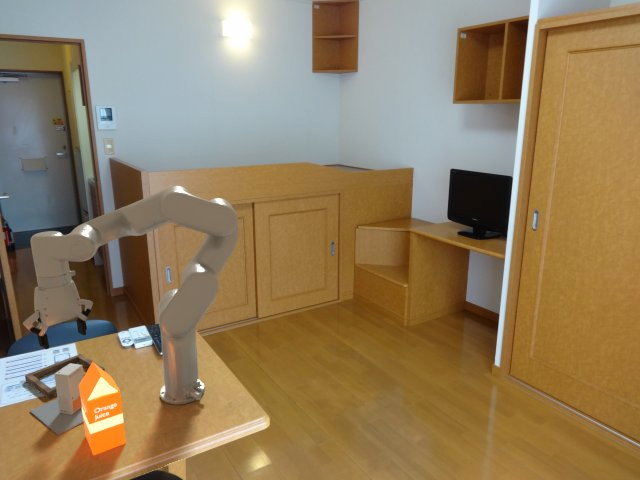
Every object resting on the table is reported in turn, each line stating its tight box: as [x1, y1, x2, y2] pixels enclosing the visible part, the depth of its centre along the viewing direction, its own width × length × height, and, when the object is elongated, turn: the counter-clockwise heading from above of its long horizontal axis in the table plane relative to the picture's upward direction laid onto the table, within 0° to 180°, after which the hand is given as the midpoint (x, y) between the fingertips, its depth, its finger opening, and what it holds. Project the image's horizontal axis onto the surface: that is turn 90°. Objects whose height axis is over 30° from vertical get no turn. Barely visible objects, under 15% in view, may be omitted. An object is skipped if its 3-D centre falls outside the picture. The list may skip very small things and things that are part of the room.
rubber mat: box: [29, 398, 84, 436], centre depth 131 cm, size 16×15×1 cm
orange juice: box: [78, 361, 127, 456], centre depth 117 cm, size 8×9×20 cm
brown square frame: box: [24, 353, 106, 399], centre depth 147 cm, size 15×17×2 cm
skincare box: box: [54, 363, 85, 415], centre depth 130 cm, size 6×4×12 cm
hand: (64, 340), depth 126 cm, fingers open, 9 cm apart
